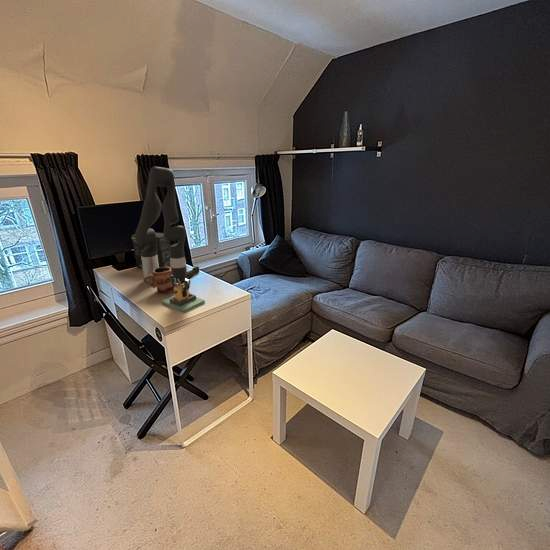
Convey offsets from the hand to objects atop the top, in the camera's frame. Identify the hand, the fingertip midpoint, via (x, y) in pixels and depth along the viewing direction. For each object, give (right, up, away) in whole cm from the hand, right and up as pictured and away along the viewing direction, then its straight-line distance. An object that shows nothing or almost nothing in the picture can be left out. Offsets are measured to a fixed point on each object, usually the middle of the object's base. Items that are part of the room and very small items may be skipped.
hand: (181, 295), depth 158 cm
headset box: (-36, +16, +55) cm, 68 cm away
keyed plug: (0, -2, +1) cm, 2 cm away
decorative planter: (-15, +1, +15) cm, 22 cm away
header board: (0, -4, +2) cm, 5 cm away
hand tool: (-7, +10, +39) cm, 41 cm away
